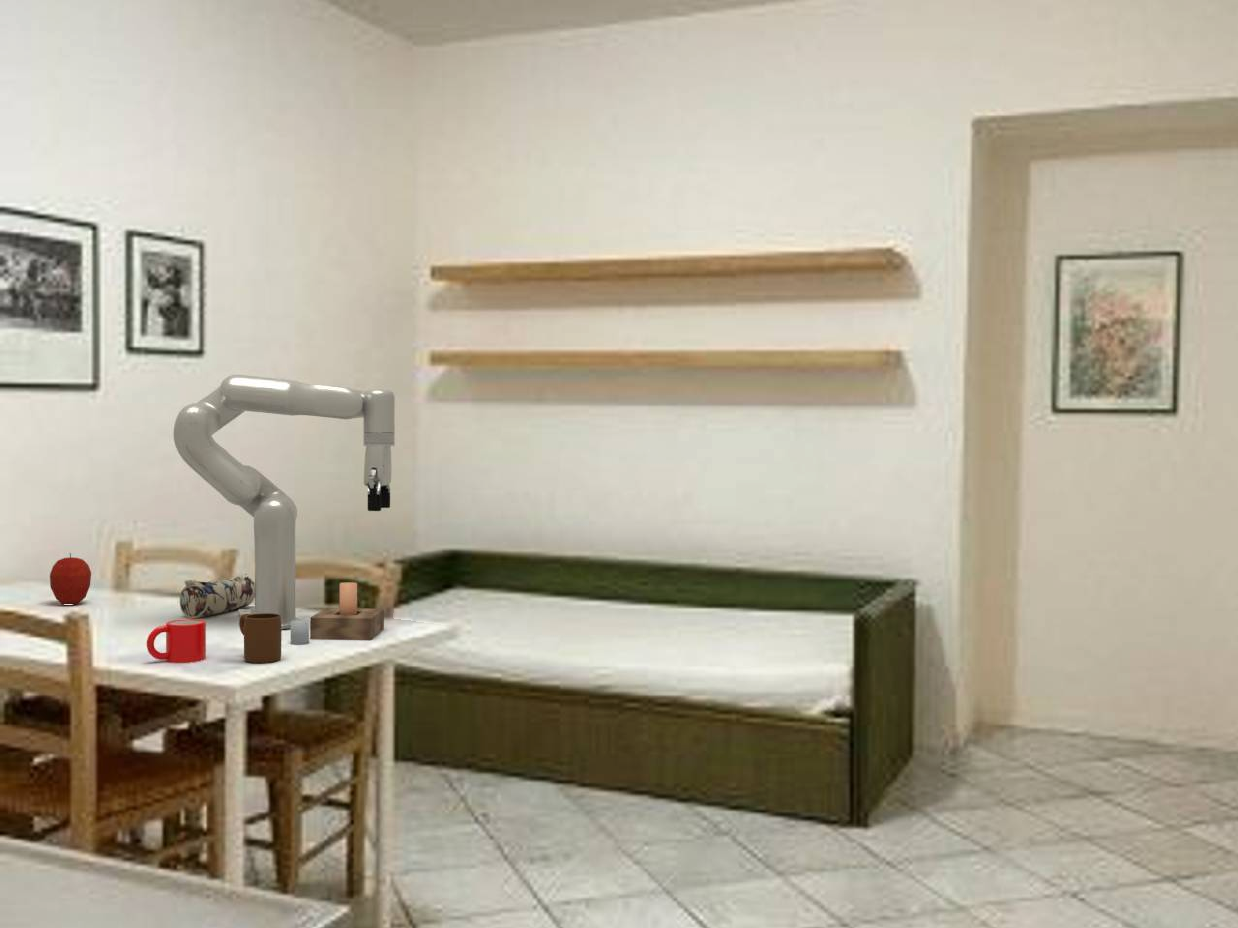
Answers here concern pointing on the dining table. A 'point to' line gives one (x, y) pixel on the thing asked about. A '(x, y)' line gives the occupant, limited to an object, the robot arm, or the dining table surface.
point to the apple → (70, 580)
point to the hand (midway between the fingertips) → (379, 509)
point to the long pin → (348, 598)
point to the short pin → (299, 632)
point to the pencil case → (216, 596)
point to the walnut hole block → (347, 624)
